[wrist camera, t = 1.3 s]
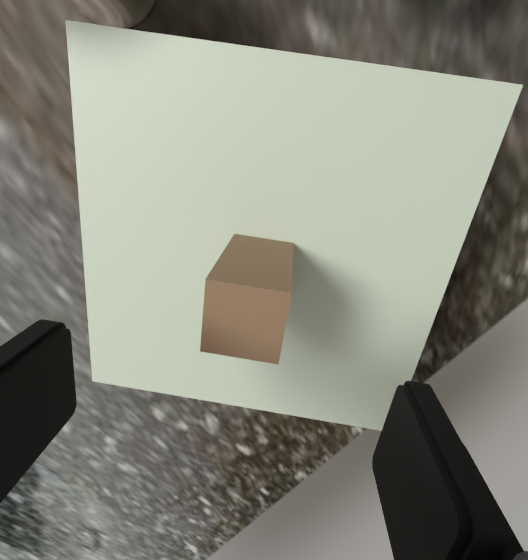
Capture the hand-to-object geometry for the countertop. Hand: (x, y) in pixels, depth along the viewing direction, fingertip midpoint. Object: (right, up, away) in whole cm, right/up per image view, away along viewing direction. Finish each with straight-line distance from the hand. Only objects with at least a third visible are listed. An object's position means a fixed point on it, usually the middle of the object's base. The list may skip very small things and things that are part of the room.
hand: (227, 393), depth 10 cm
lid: (+1, +4, +9) cm, 10 cm away
